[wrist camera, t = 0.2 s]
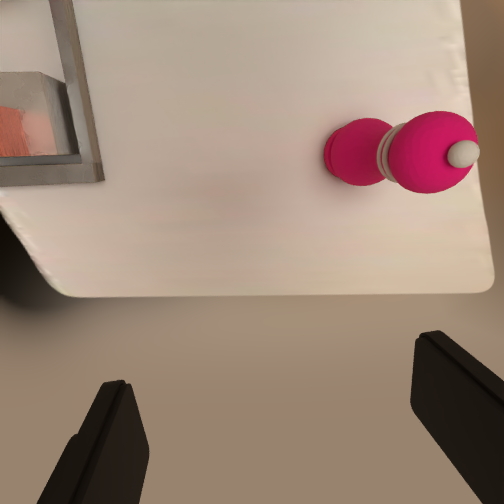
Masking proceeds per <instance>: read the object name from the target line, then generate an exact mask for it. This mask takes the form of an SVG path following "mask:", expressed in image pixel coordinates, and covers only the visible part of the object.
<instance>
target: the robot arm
mask: <svg viewBox="0 0 504 504" xmlns="http://www.w3.org/2000/svg"><path fill="white" fill-rule="evenodd" d="M410 403H411V407H412V409H413V411H414V413H415V415H416V416H417V417H418V419H419V420H420V421H421V422H422V424H423V425H424V426H425V428H426V429H427V430H428V432H429V433H430V434H431V436H432V437H433V438H434V440H435V441H436V442H437V444H438V445H439V446H440V448H441V449H442V450H443V452H444V453H445V454H446V456H447V457H448V458H449V459H450V461H451V462H452V464H453V465H454V466H455V468H456V469H457V470H458V472H459V473H460V474H461V476H462V477H463V478H464V480H465V481H466V482H467V483H468V485H469V486H470V488H471V489H472V490H473V492H474V493H475V494H476V496H477V497H478V498H479V499H480V501H481V502H482V503H483V504H504V381H503V380H502V379H501V378H499V377H498V376H497V375H496V374H494V373H493V372H492V371H491V370H489V369H488V368H487V367H486V366H484V365H483V364H482V363H481V362H479V361H478V360H477V359H475V358H474V357H473V356H472V355H470V354H469V353H468V352H467V351H466V350H464V349H463V348H462V347H461V346H459V345H458V344H457V343H456V342H454V341H453V340H452V339H450V338H449V337H448V336H447V335H446V334H445V333H443V332H441V331H439V330H437V331H431V332H425V333H421V334H420V335H419V338H417V339H416V341H415V350H414V362H413V374H412V386H411V398H410ZM148 460H149V445H148V441H147V438H146V434H145V431H144V427H143V424H142V421H141V417H140V414H139V410H138V406H137V403H136V400H135V396H134V392H133V389H132V386H131V384H126V383H125V381H124V380H117V381H110V382H104V383H103V384H102V386H101V387H100V389H99V391H98V393H97V395H96V398H95V399H94V402H93V403H92V405H91V408H90V409H89V412H88V413H87V416H86V417H85V420H84V422H83V424H82V426H81V428H80V430H79V432H78V434H75V435H74V436H72V437H71V439H70V440H69V442H68V443H67V445H66V447H65V449H64V451H63V453H62V455H61V457H60V459H59V461H58V463H57V465H56V467H55V469H54V471H53V473H52V474H51V476H50V478H49V480H48V482H47V484H46V486H45V488H44V490H43V492H42V494H41V496H40V498H39V500H38V502H37V504H139V501H140V496H141V491H142V488H143V483H144V479H145V474H146V469H147V465H148Z"/></svg>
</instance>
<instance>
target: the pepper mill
mask: <svg viewBox="0 0 504 504" xmlns="http://www.w3.org/2000/svg"><path fill="white" fill-rule="evenodd" d="M479 152H480V150H479V147H478V140H477V135H476V132H475V130H474V128H473V126H472V125H471V124H470V123H469V122H468V121H467V119H465V118H464V117H462V116H460V115H458V114H455V113H452V112H447V111H434V112H428V113H425V114H422V115H419V116H417V117H415V118H413V119H412V120H410V121H409V122H407V123H402V124H399V125H397V126H395V127H392V126H391V125H389V124H388V123H386V122H384V121H381V120H379V119H373V118H363V119H358V120H355V121H353V122H351V123H349V124H347V125H346V126H345V127H343V128H340V129H339V130H337V131H335V132H334V133H333V134H332V135H331V137H330V138H329V139H328V141H327V143H326V146H325V150H324V160H325V164H326V166H327V168H328V170H329V171H330V172H331V173H332V174H333V175H335V176H337V177H339V178H340V179H342V180H343V181H344V182H346V183H348V184H351V185H356V186H367V185H372V184H375V183H377V182H380V181H382V180H384V179H385V178H387V179H388V180H390V181H392V182H396V183H399V184H400V185H401V186H402V187H404V188H405V189H407V190H410V191H413V192H416V193H425V194H428V193H437V192H440V191H444V190H446V189H448V188H450V187H453V186H455V185H456V184H457V183H458V182H460V181H461V180H462V179H463V178H464V177H465V176H466V175H467V174H468V173H469V171H470V169H471V168H472V166H473V164H474V163H475V162H476V160H477V159H478V157H479Z"/></svg>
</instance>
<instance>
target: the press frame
mask: <svg viewBox="0 0 504 504" xmlns="http://www.w3.org/2000/svg"><path fill="white" fill-rule="evenodd" d="M49 3H50V7H51V12H52V17H53V22H54V27H55V32H56V37H57V42H58V47H59V52H60V57H61V62H62V67H63V71H64V76H65V81H66V86H67V91H68V96H69V101H70V106H71V111H72V116H73V121H74V126H75V131H76V135H77V140H78V145H79V150H80V155H81V160H82V163H76V164H51V165H25V166H0V187H5V186H27V185H49V184H72V183H94V182H99V181H103V180H105V179H104V173H103V168H102V162H101V157H100V151H99V146H98V141H97V135H96V130H95V124H94V119H93V113H92V108H91V102H90V97H89V91H88V86H87V81H86V75H85V70H84V64H83V59H82V53H81V48H80V42H79V37H78V32H77V26H76V21H75V15H74V10H73V4H72V0H49Z"/></svg>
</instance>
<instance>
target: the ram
mask: <svg viewBox="0 0 504 504" xmlns="http://www.w3.org/2000/svg"><path fill="white" fill-rule="evenodd" d="M73 154H80V150H79V145H78V140H77V135H76V131H75V126H74V121H73V116H72V111H71V106H70V101H69V96H68V91H67V86H66V84H65V83H63V82H61V81H58V80H56V79H54V78H52V77H49V76H47V75H45V74H43V73H40V72H0V157H18V156H45V155H73Z"/></svg>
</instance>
